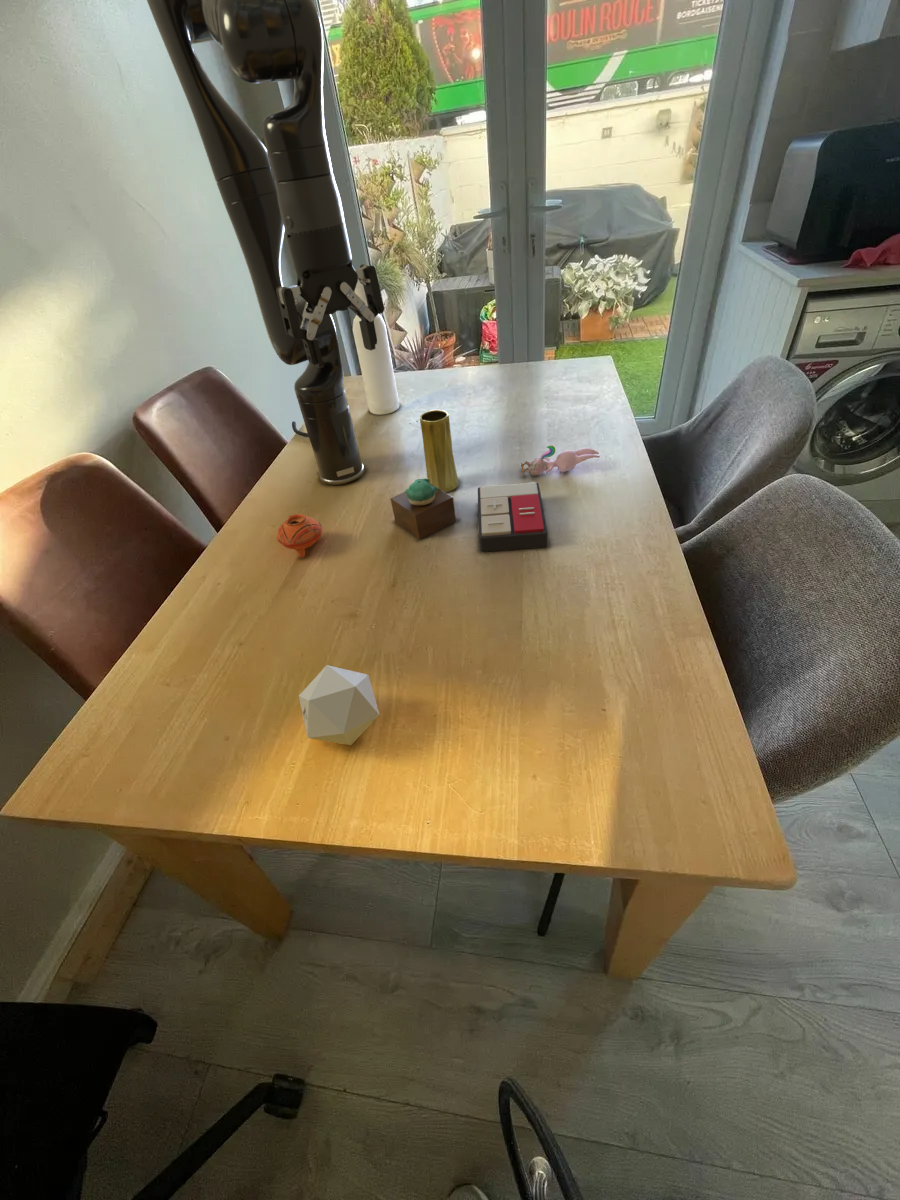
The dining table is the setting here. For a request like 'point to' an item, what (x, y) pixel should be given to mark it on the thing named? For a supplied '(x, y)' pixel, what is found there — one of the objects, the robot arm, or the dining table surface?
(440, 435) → the vase
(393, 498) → the walnut block
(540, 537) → the calculator
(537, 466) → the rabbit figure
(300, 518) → the pot
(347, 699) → the die
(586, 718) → the dining table surface
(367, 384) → the bottle
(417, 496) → the whale figurine
